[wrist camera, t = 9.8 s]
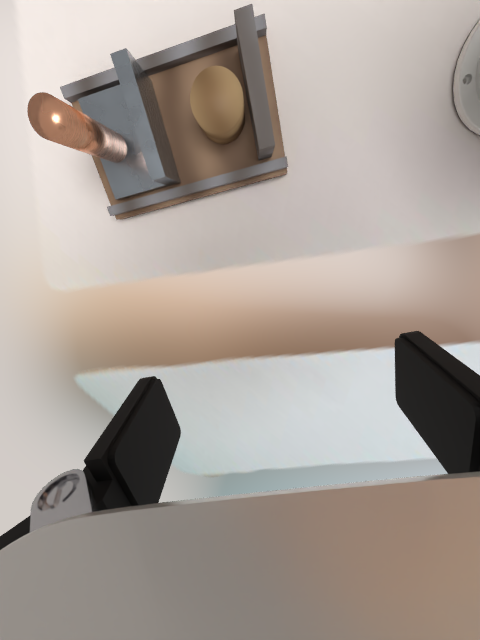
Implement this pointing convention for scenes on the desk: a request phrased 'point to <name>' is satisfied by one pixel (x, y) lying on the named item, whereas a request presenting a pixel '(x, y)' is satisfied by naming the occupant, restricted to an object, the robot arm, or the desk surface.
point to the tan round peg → (218, 104)
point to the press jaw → (114, 130)
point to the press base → (183, 129)
